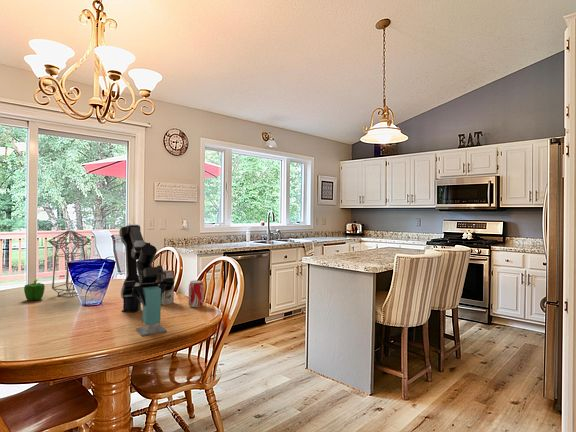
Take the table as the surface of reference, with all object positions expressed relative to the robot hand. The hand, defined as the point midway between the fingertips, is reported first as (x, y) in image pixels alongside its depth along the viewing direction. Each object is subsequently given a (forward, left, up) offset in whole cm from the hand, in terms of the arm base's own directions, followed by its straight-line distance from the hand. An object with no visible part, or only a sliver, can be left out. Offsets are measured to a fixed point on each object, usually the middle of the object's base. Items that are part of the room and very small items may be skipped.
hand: (152, 304), depth 134 cm
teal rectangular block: (-1, +1, -7) cm, 7 cm away
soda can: (+6, +38, -11) cm, 40 cm away
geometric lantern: (-66, +53, -11) cm, 85 cm away
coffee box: (-12, +43, -11) cm, 46 cm away
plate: (-1, +1, -10) cm, 10 cm away
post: (-1, +1, -10) cm, 10 cm away
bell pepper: (-77, +43, -11) cm, 89 cm away
